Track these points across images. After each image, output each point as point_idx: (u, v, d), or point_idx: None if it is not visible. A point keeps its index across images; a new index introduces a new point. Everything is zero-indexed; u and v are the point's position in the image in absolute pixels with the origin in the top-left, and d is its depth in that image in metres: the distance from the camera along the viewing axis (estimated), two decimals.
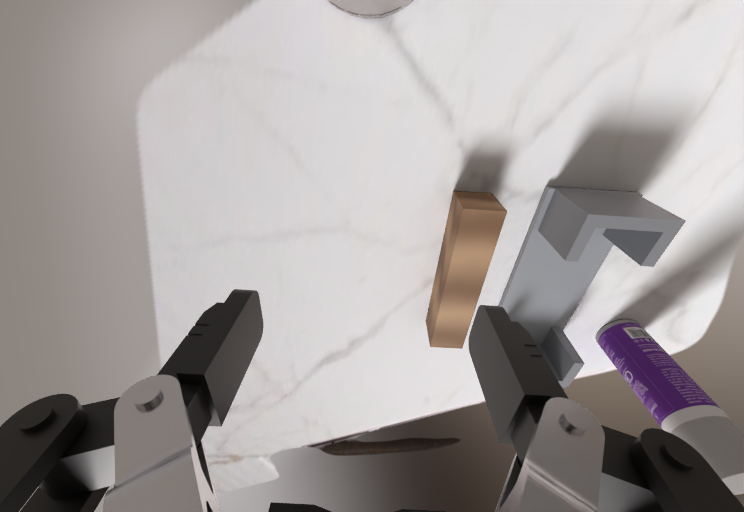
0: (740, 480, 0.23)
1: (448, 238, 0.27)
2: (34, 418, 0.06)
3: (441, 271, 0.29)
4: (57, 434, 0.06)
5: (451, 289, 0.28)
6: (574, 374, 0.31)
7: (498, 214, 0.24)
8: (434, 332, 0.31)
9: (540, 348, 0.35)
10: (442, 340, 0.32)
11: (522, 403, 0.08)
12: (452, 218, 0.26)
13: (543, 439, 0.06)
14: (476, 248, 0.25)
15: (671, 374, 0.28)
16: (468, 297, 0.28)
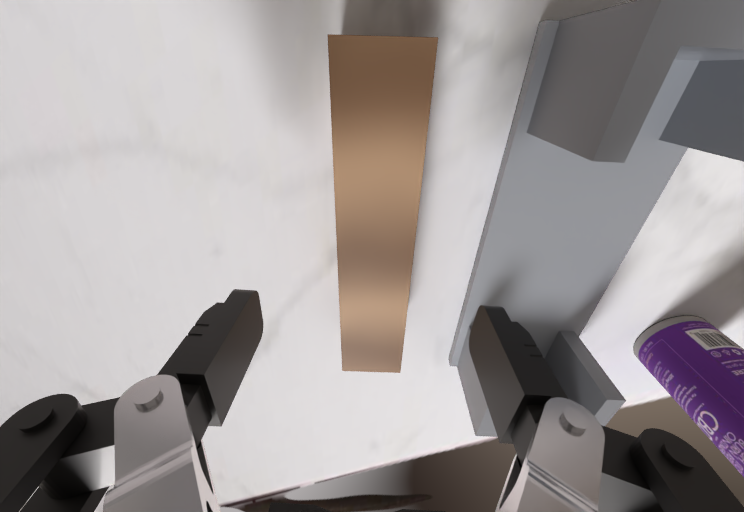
0: None
1: None
2: (34, 418, 0.06)
3: None
4: (57, 434, 0.06)
5: (353, 255, 0.14)
6: (605, 419, 0.17)
7: (418, 49, 0.09)
8: (342, 344, 0.17)
9: None
10: (361, 358, 0.17)
11: (522, 403, 0.08)
12: None
13: (543, 439, 0.06)
14: (384, 151, 0.11)
15: None
16: (391, 273, 0.14)
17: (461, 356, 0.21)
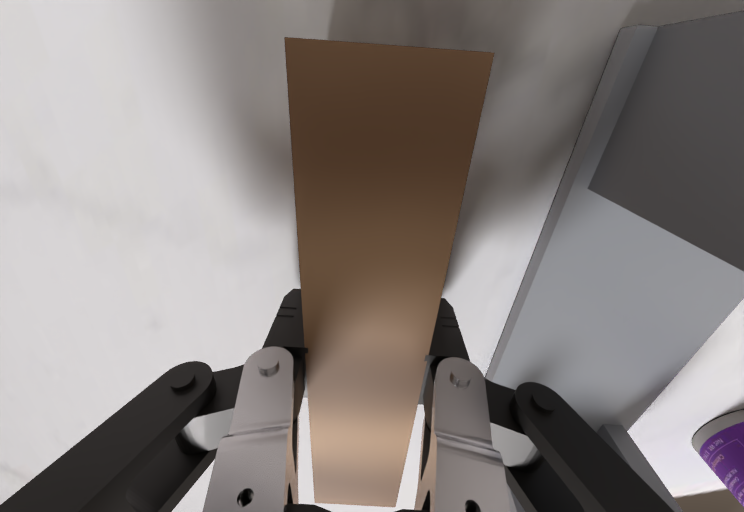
0: None
1: None
2: (181, 379, 0.07)
3: None
4: (201, 394, 0.07)
5: (330, 376, 0.09)
6: None
7: (455, 72, 0.05)
8: (315, 475, 0.12)
9: None
10: (340, 490, 0.12)
11: (426, 364, 0.08)
12: None
13: (441, 402, 0.07)
14: (384, 238, 0.07)
15: None
16: (388, 399, 0.09)
17: None
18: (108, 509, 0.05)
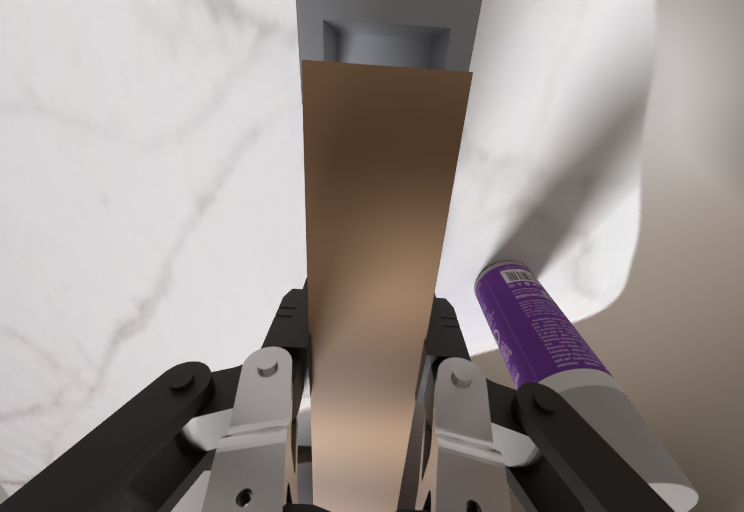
0: None
1: None
2: (180, 379, 0.07)
3: None
4: (200, 394, 0.07)
5: (332, 368, 0.09)
6: None
7: (441, 87, 0.06)
8: (315, 480, 0.12)
9: None
10: (340, 498, 0.12)
11: (427, 364, 0.08)
12: None
13: (443, 403, 0.07)
14: (383, 231, 0.07)
15: (544, 326, 0.18)
16: (387, 393, 0.10)
17: None
18: (107, 509, 0.05)
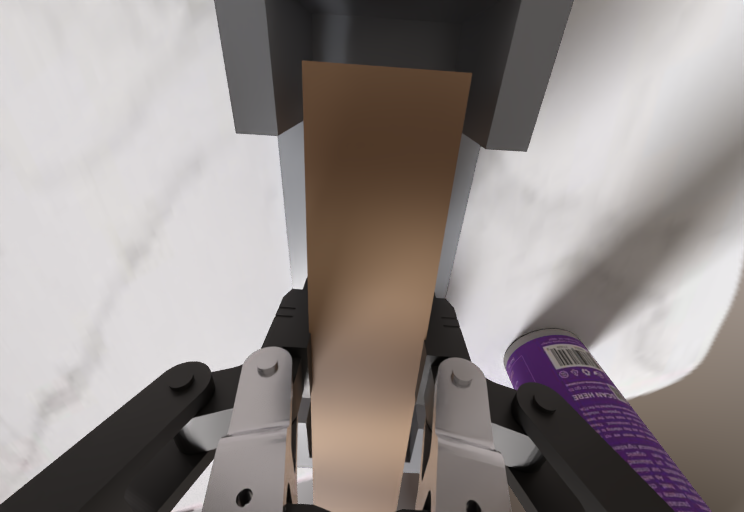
0: None
1: None
2: (180, 380, 0.07)
3: None
4: (200, 394, 0.07)
5: (332, 368, 0.09)
6: None
7: (441, 88, 0.06)
8: (315, 480, 0.12)
9: None
10: (340, 497, 0.12)
11: (427, 364, 0.08)
12: None
13: (443, 403, 0.07)
14: (383, 231, 0.07)
15: (630, 463, 0.12)
16: (388, 393, 0.10)
17: None
18: (107, 510, 0.05)
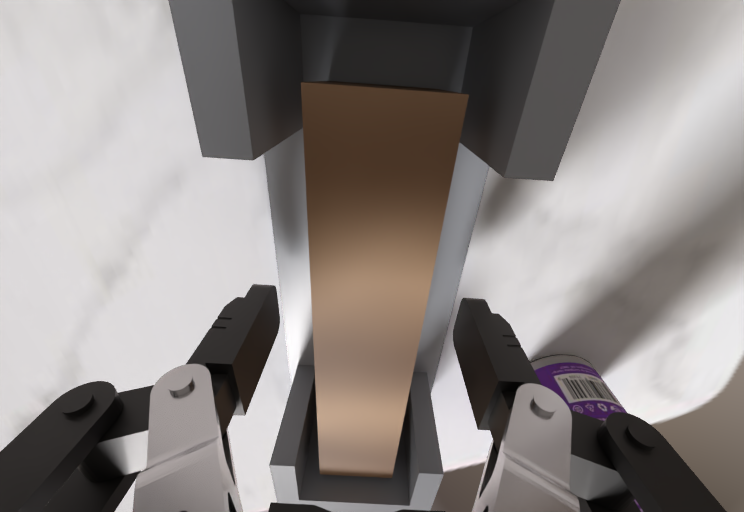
0: None
1: None
2: (76, 403, 0.06)
3: None
4: (98, 419, 0.06)
5: (335, 358, 0.10)
6: (430, 494, 0.13)
7: (438, 109, 0.06)
8: (320, 449, 0.13)
9: None
10: (343, 463, 0.14)
11: (497, 390, 0.08)
12: None
13: (516, 425, 0.07)
14: (381, 240, 0.08)
15: None
16: (385, 379, 0.11)
17: None
18: None
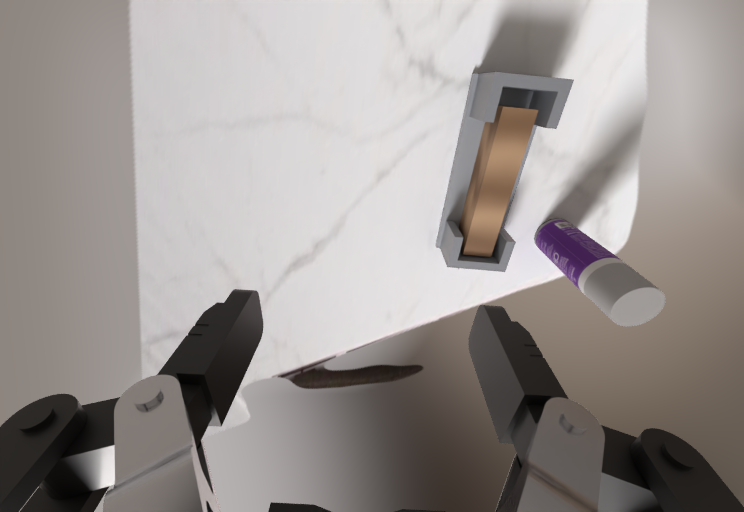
0: (632, 302, 0.26)
1: (485, 145, 0.32)
2: (34, 418, 0.06)
3: (476, 179, 0.34)
4: (57, 434, 0.06)
5: (487, 190, 0.32)
6: (508, 255, 0.35)
7: (531, 113, 0.29)
8: (468, 238, 0.35)
9: None
10: (474, 246, 0.36)
11: (522, 403, 0.08)
12: (489, 125, 0.31)
13: (543, 439, 0.06)
14: (511, 146, 0.30)
15: (587, 244, 0.32)
16: (500, 199, 0.33)
17: (442, 239, 0.40)
18: None
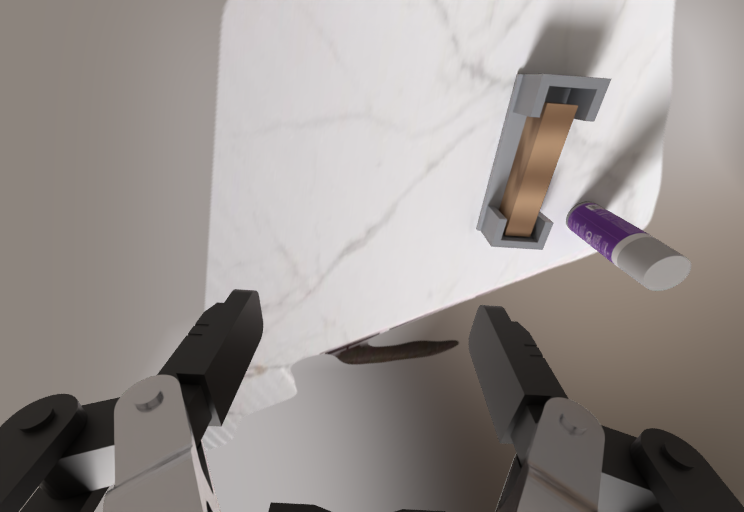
0: (662, 269, 0.31)
1: (527, 137, 0.36)
2: (34, 418, 0.06)
3: (518, 168, 0.38)
4: (57, 434, 0.06)
5: (529, 176, 0.37)
6: (546, 234, 0.40)
7: (572, 108, 0.33)
8: (510, 220, 0.40)
9: None
10: (515, 228, 0.40)
11: (522, 403, 0.08)
12: (532, 120, 0.36)
13: (543, 439, 0.06)
14: (553, 138, 0.34)
15: (618, 222, 0.37)
16: (541, 185, 0.37)
17: (483, 223, 0.44)
18: None
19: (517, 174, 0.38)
